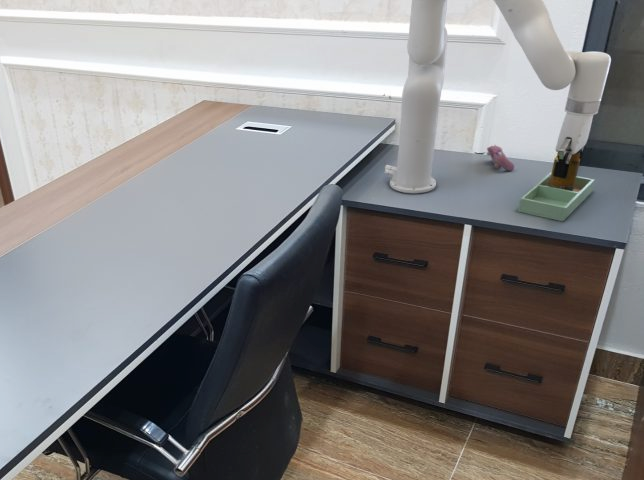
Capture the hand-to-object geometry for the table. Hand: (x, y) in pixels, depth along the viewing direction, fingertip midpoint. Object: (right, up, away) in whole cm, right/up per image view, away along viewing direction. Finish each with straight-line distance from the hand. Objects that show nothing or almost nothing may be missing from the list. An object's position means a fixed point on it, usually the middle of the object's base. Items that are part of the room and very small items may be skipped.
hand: (566, 171), depth 188 cm
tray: (-3, -8, 0) cm, 8 cm away
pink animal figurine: (-8, +7, +23) cm, 26 cm away
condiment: (+1, -5, +3) cm, 6 cm away
